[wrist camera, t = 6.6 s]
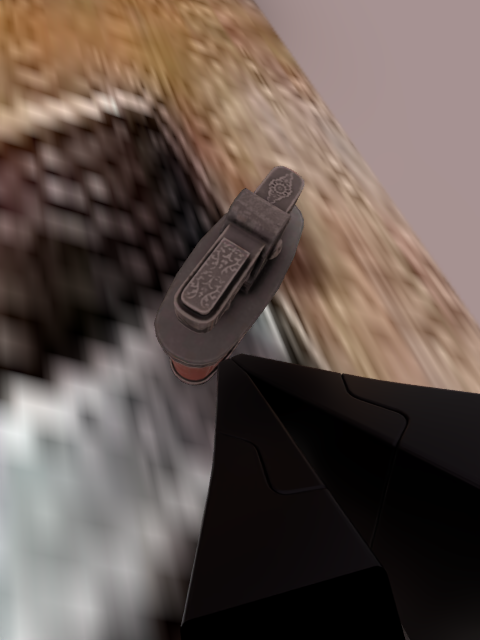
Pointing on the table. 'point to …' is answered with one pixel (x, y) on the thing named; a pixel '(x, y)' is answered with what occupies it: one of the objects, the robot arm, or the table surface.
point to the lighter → (230, 277)
